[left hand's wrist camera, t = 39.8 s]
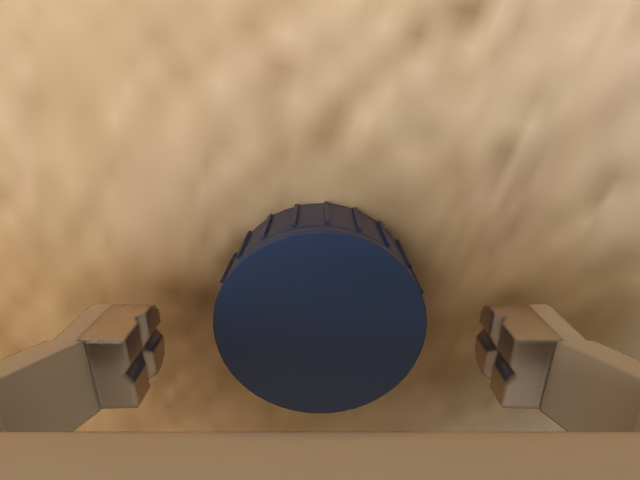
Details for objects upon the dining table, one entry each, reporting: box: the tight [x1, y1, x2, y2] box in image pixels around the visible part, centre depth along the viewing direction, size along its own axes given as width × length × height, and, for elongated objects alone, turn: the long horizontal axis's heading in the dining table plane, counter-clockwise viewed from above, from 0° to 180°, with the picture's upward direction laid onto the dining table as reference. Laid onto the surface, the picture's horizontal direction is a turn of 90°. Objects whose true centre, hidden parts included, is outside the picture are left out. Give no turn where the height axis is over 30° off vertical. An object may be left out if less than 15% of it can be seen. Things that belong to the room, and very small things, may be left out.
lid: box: [213, 202, 427, 413], centre depth 11 cm, size 5×5×2 cm
